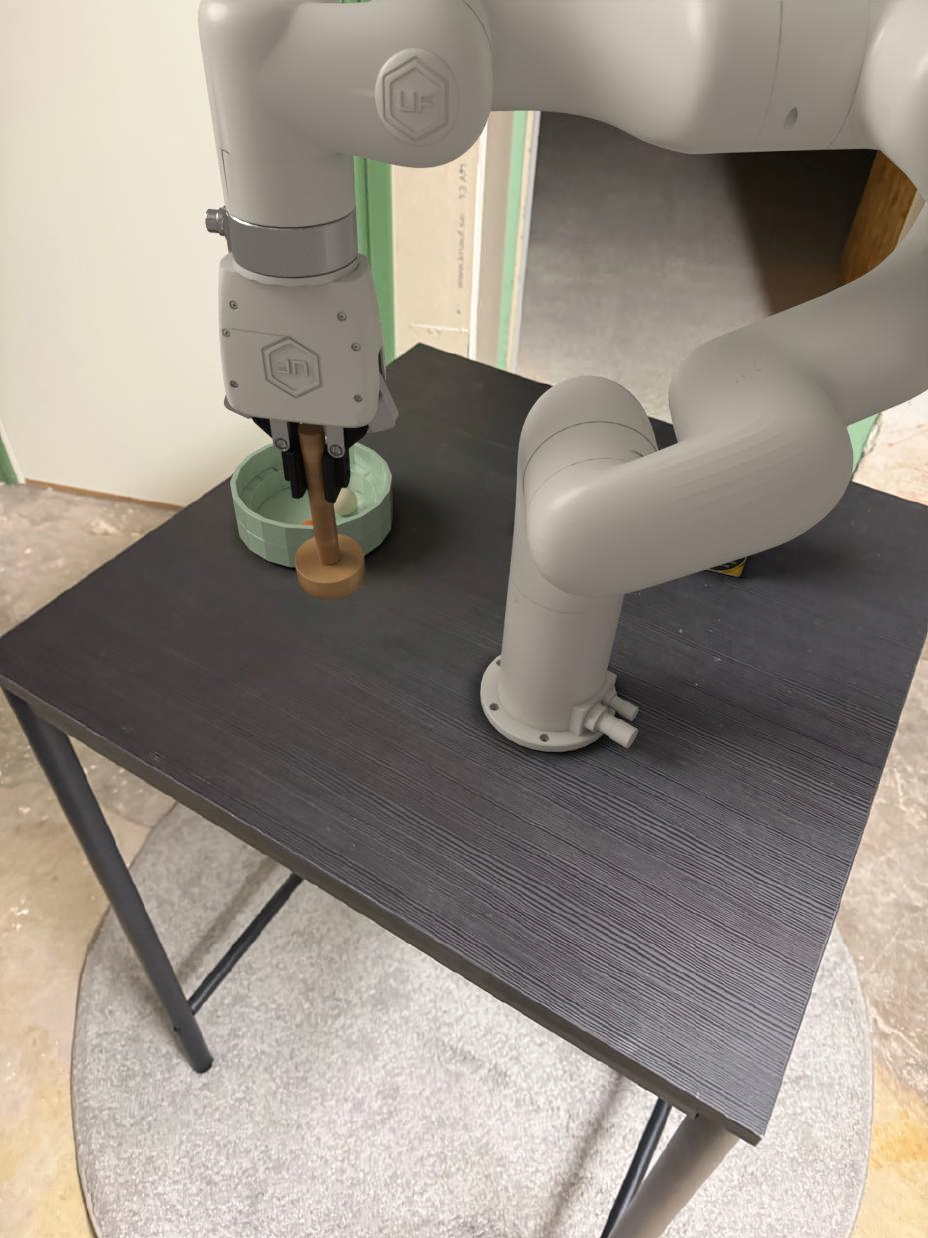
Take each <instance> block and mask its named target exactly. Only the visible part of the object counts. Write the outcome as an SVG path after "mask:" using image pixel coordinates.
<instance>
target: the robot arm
mask: <svg viewBox="0 0 928 1238" xmlns="http://www.w3.org/2000/svg"><path fill="white" fill-rule="evenodd" d="M197 25H198V35H199V43H200V50H201V51H200V52H201V57H202V62H203V71H204V76H205V77H204V78H205V84H206V92H207V97H208V103H209V104H208V105H209V110H210V111H209V112H210V116H211V123H212V131H213V138H214V144H215V150H216V156H217V162H218V169H219V176H220V183H221V189H222V196H223V201H224V202H223V203H224V205H223V206H222V207H218V208H217V209H216V208H208V209H207V210H206V211H205V217H204V221H205V222H204V224H205V227H206V231H207V232H208V233H209V234H219V236H221V237H224V239H225V240H226V246H227V252H228V253H227V254H226V255H225V254H224V256H223V257H222V258H221V259H220V260H219V267H218V284H217V303H218V304H217V305H218V307H217V308H218V334H219V335H218V336H219V338H218V339H219V349H220V361H221V371H222V378H223V385H224V386H223V387H224V393H225V395H224V399H223V406H224V408H226V409H227V410H228V411H230V412H233V413H235V414H237V415H238V416H241V417H243V418H245V419H248V420H250V419H251V420H252V422H253V423H254V424H255V425H256V426H257V427H258V428H259V429H260V430H262V431H263V432H264V433H265V434H267V436H268V437H269V438H271V440H272V443H273V445H274V447H275V448H276V449H277V450H279V451H281V455H282V463H283V470H284V478H285V480H286V481H290V485H291V493H292V498H295V499H300V498H301V497H302V498H303V496H304V494H305V492H306V490H307V485H306V479H305V472H304V466H303V460H302V454H301V447H300V441H299V435H298V427H299V425H300V424H301V423H306V424H315V425H323V427H325V433H326V435H325V436H327V444H326V450H325V452H324V454H323V456H322V459H321V464H322V474H323V485H324V495H325V500H326V501H327V502H328V503H335V502H336V500H337V498H338V496H339V493H340V491H341V489H342V488H347V487H348V485H349V482H350V476H351V471H350V456H349V448H350V447H352V446H353V445H354V444H355V443H357V442H358V443H359V441H361V440H362V439H364V437H365V436H366V435H368V434H375V433H379V432H384V431H388V430H392V429H395V426H396V424H397V421H398V420H399V417H400V413H399V410H398V408H397V406H396V403H395V402H394V401H395V400H394V399H393V397H392V394H391V393H390V390H389V388H388V385H387V364H386V363H387V362H386V351H385V341H384V333H383V326H382V319H381V313H380V312H381V311H380V307H379V306H380V305H379V301H378V296H377V290H376V286H375V281H374V278H373V273H372V270H371V266H370V261H369V259H368V257H367V255H365V254H364V253H359V240H358V221H357V204H356V201H357V200H356V181H355V161H354V160H355V159H354V157H358V158H362V159H366V160H370V161H375V162H379V163H383V164H388V165H391V166H398V167H403V168H409V169H410V168H411V169H429V168H430V169H431V168H436V167H441V166H444V165H447V164H449V163H451V162H454V161H456V160H457V159H459V158H460V157H462V156H463V155H464V154H465V153H467V152H468V151H469V150H470V149H471V148H472V147H473V146H474V145H475V144H476V143H477V142H478V140H479V138H480V137H481V135H482V134H483V132H484V130H485V127H486V126H487V123H488V120H489V117H490V114H491V112H522V111H523V112H551V113H561V114H562V113H563V114H569V115H573V116H580V117H585V118H589V119H593V120H597V121H599V122H602V123H605V124H608V125H610V126H613V127H615V128H617V129H619V130H621V131H623V132H625V133H627V134H629V135H631V136H633V137H634V138H637V139H638V140H640V141H642V142H645V143H647V144H649V145H652V146H655V147H659V148H661V149H666V150H669V151H673V152H678V153H680V154H687V155H707V154H730V153H760V152H761V153H763V152H781V151H782V152H787V151H788V152H789V151H790V152H791V151H823V150H825V151H826V150H864V149H865V150H875V151H880V152H881V153H883V155H885V156H886V157H887V159H889V160H890V161H891V162H892V163H893V164H894V165H896V167H897V168H898V169H900V170H901V171H902V172H903V173H904V174H905V175H906V176H907V178H908V179H909V180H910V182H911V183H912V184H913V185H914V187H915V188H916V189H917V191H918V192H919V194H920V195H921V197H922V198H923V199H924V201H925V202H924V205H923V206H922V208H921V210H920V212H919V214H918V215H917V217H916V219H915V221H914V223H913V224H912V226H911V227H910V229H909V230H908V231H907V233H906V235H905V236H904V238H903V239H902V240H901V241H900V242H899V244H898V245H897V246H896V247H895V248H894V250H893V251H892V252H891V253H890V254H889V255H888V256H886V257H885V259H884V260H883V261H881V262H880V263H879V264H878V265H876V267H874V268H872V270H869V271H868V272H867V273H865V274H864V275H861V276H860V277H858V278H856V279H855V280H853V281H851V282H848V283H846V284H845V285H842V286H840V287H837V288H836V289H834V290H831V291H829V292H827V293H825V294H823V295H821V296H817V297H816V298H812V299H810V300H807V301H805V302H802V303H800V304H798V305H795V306H792V307H790V308H788V309H785V310H783V311H779V312H778V313H775V314H772V315H770V316H767V317H765V318H762V319H760V320H757V321H755V322H752V323H750V324H747V325H745V326H742V327H740V328H736V329H734V330H732V331H729V332H727V333H725V334H722V335H720V336H716V337H714V338H712V339H711V340H708V341H706V342H703V344H700V345H699V346H696V347H695V348H694V349H692V350H691V351H690V352H689V353H688V354H686V355H685V356H684V357H683V358H682V359H681V361H679V363H678V364H677V365H676V368H675V369H674V371H673V372H672V375H671V377H670V381H669V387H668V392H667V393H668V394H667V395H668V396H667V397H668V409H669V414H670V418H671V422H672V427H673V430H674V435H675V438H676V442H677V443H675V444H672V445H670V446H667V447H664V448H662V449H659V448H658V444H657V439H656V435H655V431H654V430H653V425H652V423H651V420H650V419H649V416H648V414H647V412H646V410H645V408H644V407H643V406H642V404H641V402H640V401H639V400H638V399H637V397H636V396H635V395H634V394H633V393H632V392H631V391H630V390H629V389H628V388H626V387H625V386H623V385H622V384H620V383H618V382H617V381H615V380H612V379H610V378H608V377H603V376H599V375H578V376H574V377H569V378H567V379H565V380H561V381H559V382H557V383H556V384H554V385H553V386H551V387H550V388H549V389H547V390H546V391H545V392H544V393H543V394H542V395H540V397H539V398H538V399H537V400H536V401H535V403H534V404H533V405H532V407H531V409H529V412H528V414H527V415H526V418H525V420H524V423H523V425H522V429H521V432H520V436H519V441H518V450H517V467H516V490H515V491H516V492H515V493H516V495H515V508H514V524H513V534H512V545H511V557H510V564H509V565H510V566H509V575H508V585H507V593H506V605H505V612H504V624H503V634H502V643H501V651H500V652H501V653H500V654H499V655H498V656H496V657H495V658H494V659H493V660H492V661H491V662H490V664H488V666H487V668H486V669H485V671H484V673H483V675H482V679H481V681H480V690H479V691H480V692H479V695H480V703H481V708H482V711H483V713H484V715H485V716H486V718H487V720H488V721H489V723H490V724H491V725H492V726H493V728H494V729H495V730H496V731H497V732H499V733H500V734H501V735H502V736H503V737H505V738H506V739H507V740H509V741H511V742H514V743H516V744H517V745H519V746H521V747H522V746H523V747H524V748H528V749H530V750H535V751H540V752H545V753H546V752H548V753H549V752H550V753H562V752H568V751H569V752H571V751H575V750H578V749H581V748H585V747H586V746H589V745H590V744H593V743H594V742H596V741H597V740H599V738H601V737H602V736H603V735H606V736H607V737H608V738H609V739H610V740H612V741H613V742H615V743H617V744H619V745H620V746H622V747H623V748H625V749H629V748H630V747H631V745H632V744H633V743H634V741H635V740H636V738H637V735H638V733H639V729H638V728H637V727H635V726H633V725H632V724H630V723H628V722H626V721H625V720H623V719H621V718H618V717H616V716H615V715H616V713H617V714H618V715H619V716H622V717H623V718H625V719H627V720H628V721H630V722H633V720H634V719H636V716H637V715H638V713H639V710H640V709H639V708H640V707H638V706H636V705H634V704H633V703H631V702H630V701H627V700H624V699H622V698H621V697H619V696H618V692H617V690H616V686H615V684H616V680H617V677H618V675H617V674H616V673H614V672H612V671H610V670H608V668H609V665H610V664H609V663H610V659H611V655H612V651H613V648H614V643H615V639H616V634H617V629H618V625H619V621H620V617H621V612H622V607H623V603H624V599H625V594H630V593H634V592H637V591H638V592H639V591H642V590H645V589H648V588H651V587H654V586H659V585H661V584H665V583H668V582H671V581H674V580H677V579H680V578H683V577H687V576H691V575H692V574H697V573H700V572H702V571H706V569H709V568H712V567H715V566H718V565H722V564H725V563H728V562H731V561H734V560H737V559H740V558H743V557H749V556H753V555H756V554H758V553H762V552H764V551H767V550H770V549H772V548H773V549H774V548H775V547H779V546H781V545H783V544H785V543H788V542H790V541H792V540H794V539H796V538H797V537H799V536H802V535H803V534H805V533H806V532H808V531H809V530H810V529H812V528H813V527H814V526H816V525H817V524H818V523H819V522H821V521H822V520H823V519H824V518H825V517H827V515H828V514H830V512H832V511H833V510H834V509H835V508H836V506H837V504H839V502H840V501H841V499H842V498H843V496H844V495H845V493H846V491H847V488H848V487H849V484H850V481H851V479H852V474H853V471H854V459H855V458H854V457H855V455H854V448H853V444H852V440H851V436H850V433H849V431H848V428H847V427H848V426H852V425H853V424H856V423H858V422H861V421H863V420H866V419H868V418H870V417H873V416H876V415H877V414H878V415H879V414H880V413H883V412H886V411H888V410H890V409H892V408H893V409H894V408H896V407H897V406H901V405H902V404H904V403H906V402H908V401H911V400H912V399H914V398H916V397H918V396H921V395H922V394H924V393H925V392H926V391H928V0H369V1H365V2H363V1H362V2H344V3H341V2H340V1H339V0H200V2H199V5H198V11H197Z"/></svg>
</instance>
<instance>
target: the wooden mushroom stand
mask: <svg viewBox="0 0 928 1238" xmlns="http://www.w3.org/2000/svg"><path fill="white" fill-rule="evenodd" d="M325 433H326V432H325V426H324V425H315V424H306V423H301V424H300V425H299V427H298V435H299V441H300V447H301V454H302V460H303V466H304V472H305V479H306V485H307V491H308V498H309V504H310V510H311V516H312V523H313V529H314V535H315V537H313V538H311V539H309V540H307V541H306V542H305V543H304V544H302V545H301V547H300V548H299V549H298V551H297V553H296V555H295V567H294V568H295V571H296V576H297V582H298V584H299V586H300V588H301V589H302V590H303V591H304V592H305V593H306V594H308V595H309V596H312V597H314V598H317V599H320V600H338V599H342V598H346V597H347V596H349V595H351V594H353V593H354V592H356V591H357V590H358V589H359V588H360V587H361V586H362V585H363V582H364V581H365V578H366V574H367V573H366V572H367V571H366V569H367V568H366V562H365V561H366V560H365V556H364V552H363V550H362V548H361V546H360V545H359V544H358V543H357V542H356V541H355V540H354V539H352V538H350V537H348V536H345V535H341V534H338V533H337V525H336V518H335V510H334V503H328V502H327V501H326V500H325V495H324V485H323V474H322V464H321V459H322V456H323V454H324V452H325V450H326V441H325V436H326V435H325Z"/></svg>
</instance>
